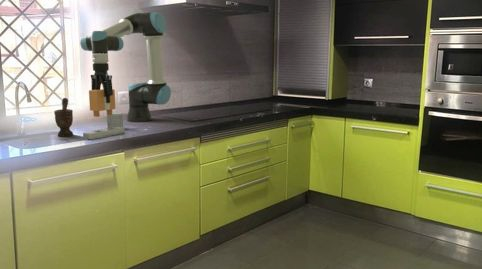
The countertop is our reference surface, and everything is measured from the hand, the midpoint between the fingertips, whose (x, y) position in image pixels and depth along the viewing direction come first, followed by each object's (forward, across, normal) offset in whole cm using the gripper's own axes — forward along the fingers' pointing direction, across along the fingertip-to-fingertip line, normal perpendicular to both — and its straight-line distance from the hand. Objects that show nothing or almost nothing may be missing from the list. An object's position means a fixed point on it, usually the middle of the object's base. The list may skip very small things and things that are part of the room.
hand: (102, 108), depth 223 cm
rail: (+14, 0, 0) cm, 14 cm away
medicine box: (+14, -12, +17) cm, 25 cm away
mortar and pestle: (+14, -16, -11) cm, 24 cm away
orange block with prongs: (+3, 0, 0) cm, 3 cm away
